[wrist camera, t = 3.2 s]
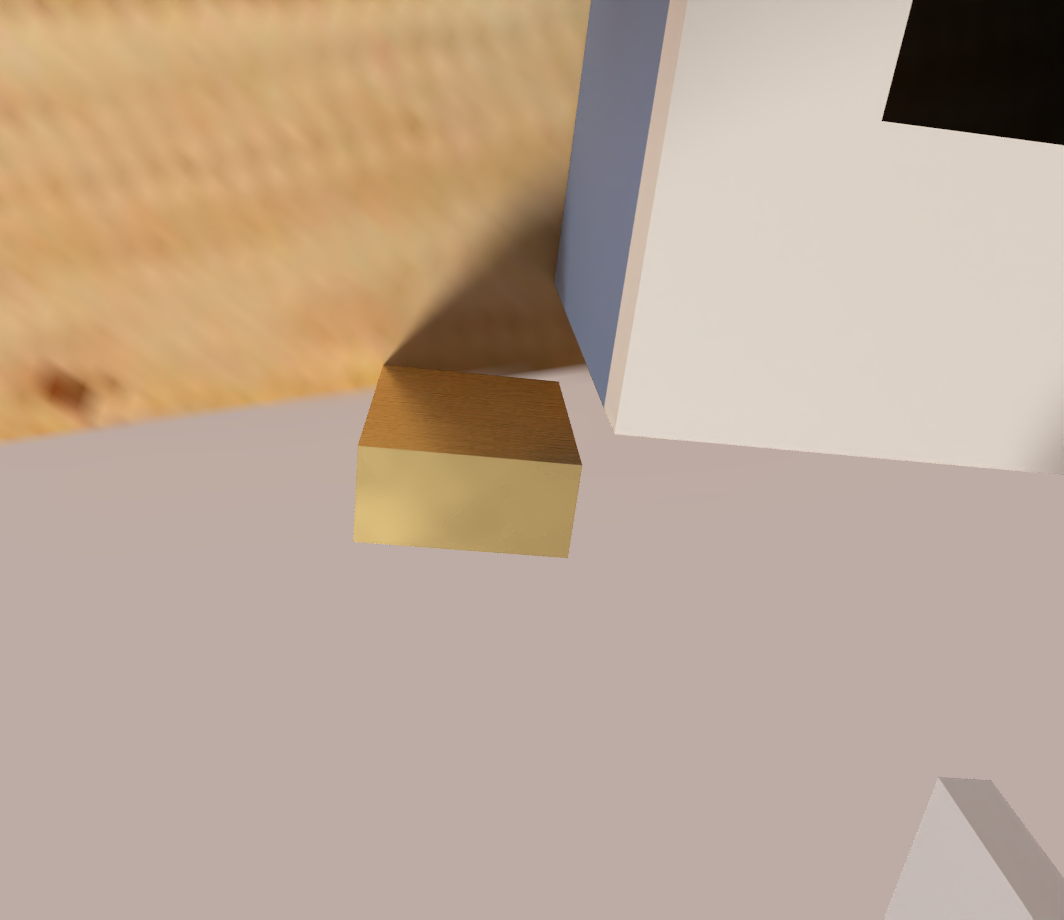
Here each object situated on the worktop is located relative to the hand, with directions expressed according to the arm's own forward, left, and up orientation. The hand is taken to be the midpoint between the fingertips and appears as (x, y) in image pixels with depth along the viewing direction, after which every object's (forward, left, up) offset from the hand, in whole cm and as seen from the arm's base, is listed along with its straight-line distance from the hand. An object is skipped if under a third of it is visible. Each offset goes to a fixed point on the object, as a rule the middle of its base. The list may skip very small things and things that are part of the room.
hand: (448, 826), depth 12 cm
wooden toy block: (0, 0, -15) cm, 15 cm away
